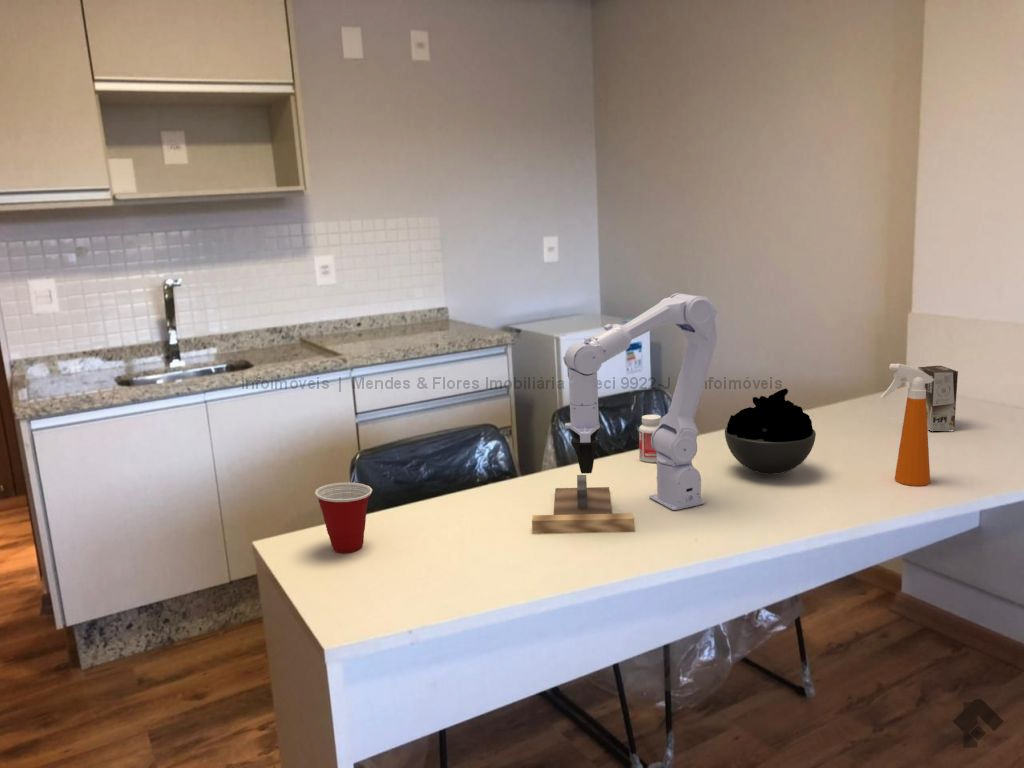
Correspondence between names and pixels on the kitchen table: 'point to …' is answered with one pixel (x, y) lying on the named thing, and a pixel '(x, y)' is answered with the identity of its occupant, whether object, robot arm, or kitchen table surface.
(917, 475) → the spray bottle
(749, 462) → the bowl of black rocks
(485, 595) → the kitchen table surface
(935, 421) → the coffee box
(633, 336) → the robot arm
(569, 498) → the ridge stand
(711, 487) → the kitchen table surface
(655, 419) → the pill bottle
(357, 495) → the plastic cup
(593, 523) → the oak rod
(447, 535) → the kitchen table surface
